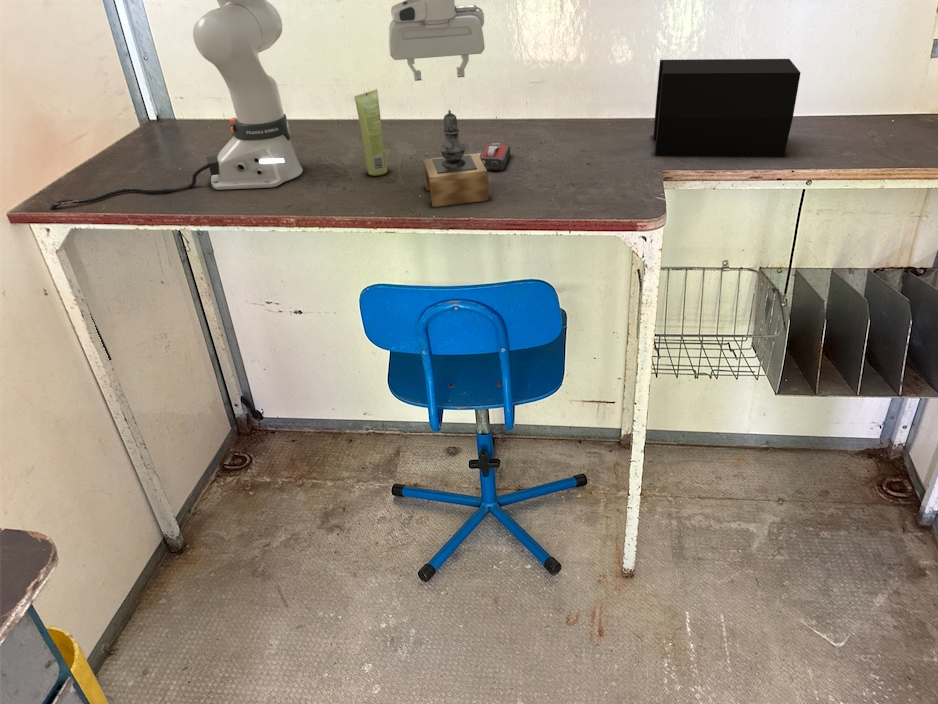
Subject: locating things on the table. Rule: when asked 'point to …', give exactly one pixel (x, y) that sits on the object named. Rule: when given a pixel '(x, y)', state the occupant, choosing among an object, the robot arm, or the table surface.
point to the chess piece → (452, 143)
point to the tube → (371, 132)
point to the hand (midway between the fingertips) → (439, 78)
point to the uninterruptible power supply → (725, 107)
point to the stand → (456, 181)
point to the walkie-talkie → (495, 156)
